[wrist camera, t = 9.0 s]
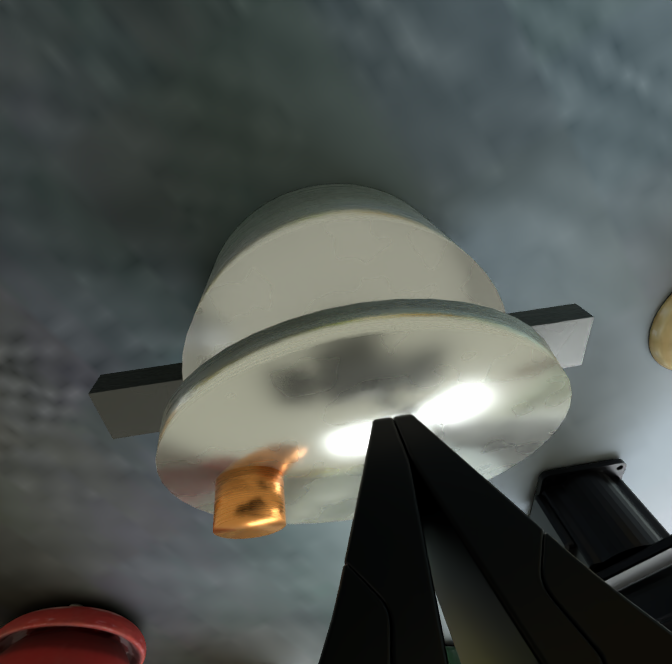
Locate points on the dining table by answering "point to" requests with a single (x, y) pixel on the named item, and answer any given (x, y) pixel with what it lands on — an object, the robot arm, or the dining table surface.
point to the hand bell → (662, 335)
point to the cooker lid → (352, 406)
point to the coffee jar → (452, 655)
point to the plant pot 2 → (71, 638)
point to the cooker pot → (320, 286)
